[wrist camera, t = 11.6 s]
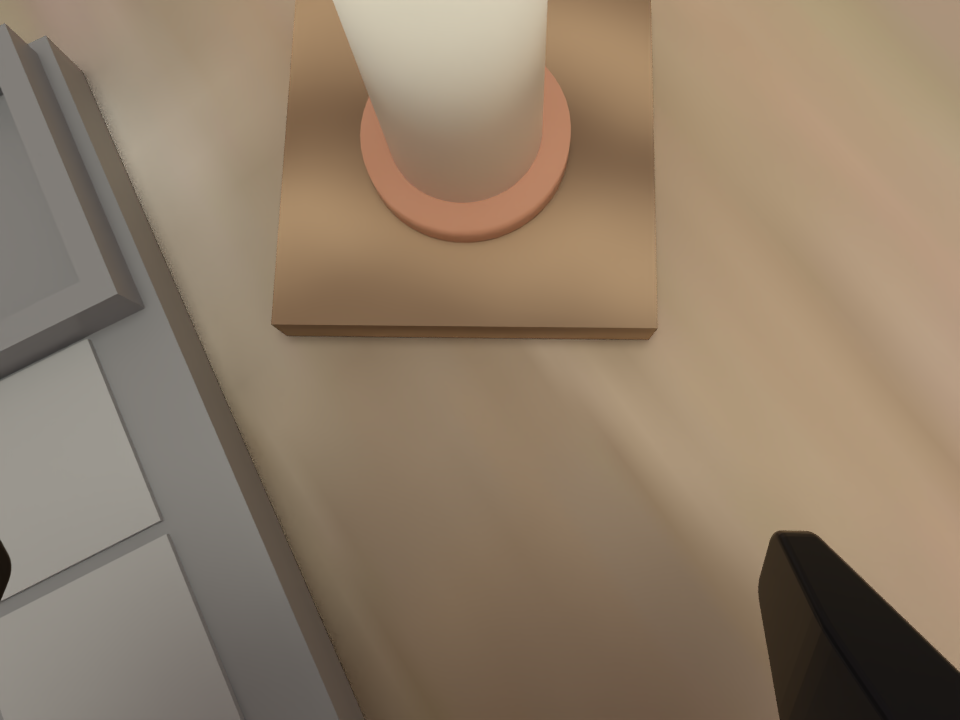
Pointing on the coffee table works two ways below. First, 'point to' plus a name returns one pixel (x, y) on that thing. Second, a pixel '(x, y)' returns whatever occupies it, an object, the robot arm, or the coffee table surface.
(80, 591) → the grey boxy piece
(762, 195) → the coffee table surface
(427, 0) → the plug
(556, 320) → the walnut board
